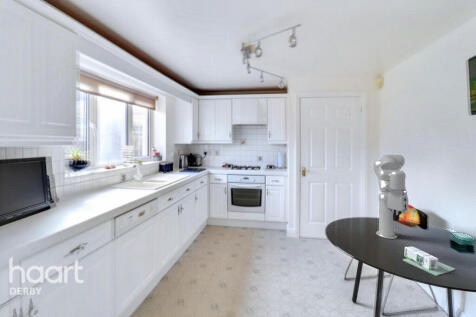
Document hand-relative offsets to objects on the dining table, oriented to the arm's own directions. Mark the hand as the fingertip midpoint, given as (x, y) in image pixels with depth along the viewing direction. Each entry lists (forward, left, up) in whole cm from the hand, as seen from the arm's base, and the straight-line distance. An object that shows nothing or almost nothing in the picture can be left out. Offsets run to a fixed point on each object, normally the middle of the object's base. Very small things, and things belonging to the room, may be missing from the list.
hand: (396, 220), depth 135 cm
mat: (0, +18, -19) cm, 26 cm away
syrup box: (+1, +8, -16) cm, 18 cm away
